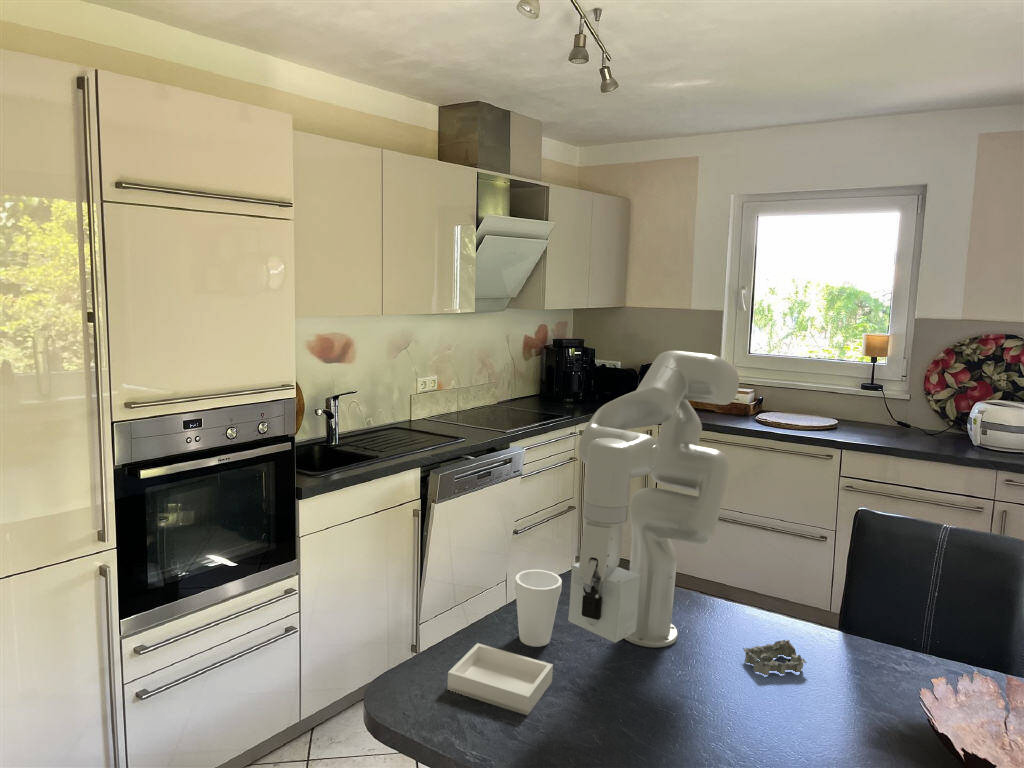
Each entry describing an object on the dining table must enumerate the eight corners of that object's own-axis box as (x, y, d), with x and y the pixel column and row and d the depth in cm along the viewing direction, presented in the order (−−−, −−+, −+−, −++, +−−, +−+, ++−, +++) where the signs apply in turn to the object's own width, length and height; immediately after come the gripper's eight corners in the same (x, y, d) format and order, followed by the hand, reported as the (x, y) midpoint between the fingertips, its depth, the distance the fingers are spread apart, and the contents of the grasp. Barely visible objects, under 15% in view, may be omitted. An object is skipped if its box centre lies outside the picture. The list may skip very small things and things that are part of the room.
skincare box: (637, 630, 127) (642, 574, 126) (615, 644, 123) (619, 585, 121) (589, 609, 134) (592, 554, 133) (566, 620, 130) (570, 564, 128)
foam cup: (553, 653, 146) (557, 592, 144) (508, 646, 148) (511, 585, 146) (560, 631, 155) (564, 572, 153) (517, 624, 157) (520, 567, 155)
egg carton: (788, 657, 150) (791, 638, 150) (808, 678, 143) (810, 658, 142) (739, 658, 149) (741, 639, 148) (756, 679, 141) (759, 659, 141)
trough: (476, 659, 142) (477, 643, 142) (551, 682, 136) (553, 664, 136) (447, 690, 132) (448, 672, 131) (527, 715, 126) (528, 696, 125)
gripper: (599, 493, 135) (593, 583, 138) (567, 522, 119) (561, 623, 122) (639, 500, 132) (632, 592, 135) (612, 531, 116) (604, 634, 119)
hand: (598, 606), depth 129 cm, fingers closed on skincare box, 7 cm apart
